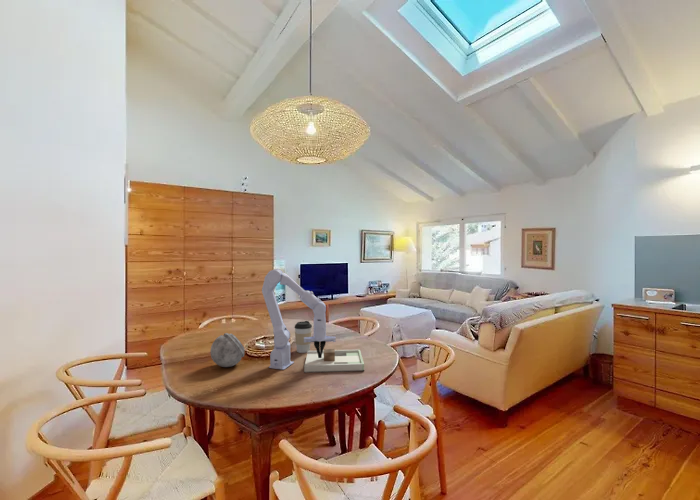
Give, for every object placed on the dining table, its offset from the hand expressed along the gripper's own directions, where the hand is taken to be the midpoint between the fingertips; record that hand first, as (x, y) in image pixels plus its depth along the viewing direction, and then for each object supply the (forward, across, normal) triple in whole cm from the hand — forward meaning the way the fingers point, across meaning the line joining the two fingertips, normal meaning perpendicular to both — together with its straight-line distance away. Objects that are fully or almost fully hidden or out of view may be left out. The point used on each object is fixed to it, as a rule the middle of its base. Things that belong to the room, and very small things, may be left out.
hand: (320, 357), depth 148 cm
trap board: (+3, +6, 0) cm, 7 cm away
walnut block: (+1, +4, 0) cm, 4 cm away
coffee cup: (+3, -9, +20) cm, 22 cm away
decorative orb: (+3, -42, 0) cm, 42 cm away
